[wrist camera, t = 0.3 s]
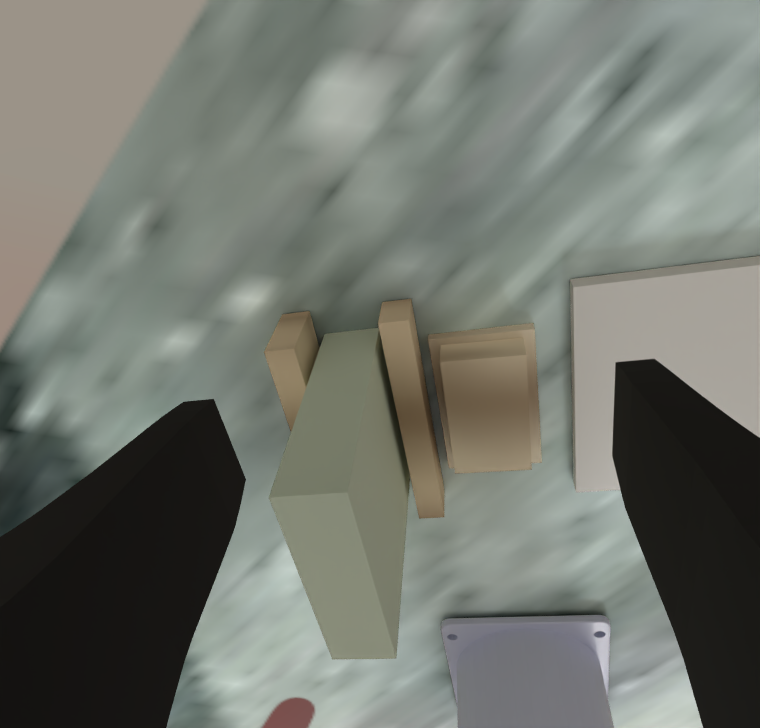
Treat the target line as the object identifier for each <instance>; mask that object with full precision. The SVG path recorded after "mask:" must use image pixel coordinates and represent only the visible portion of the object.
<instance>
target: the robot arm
mask: <svg viewBox="0 0 760 728" xmlns="http://www.w3.org/2000/svg"><path fill="white" fill-rule="evenodd" d="M612 457H613V461H614V465H615V469H616V474H617V478H618V482H619V486H620V490H621V493H622V497H623V501H624V505H625V508H626V511H627V513H628V516H629V519H630V521H631V524H632V526H633V529H634V532H635V534H636V537H637V539H638V542H639V544H640V547H641V549H642V552H643V554H644V557H645V559H646V562H647V565H648V567H649V570H650V572H651V575H652V577H653V580H654V582H655V585H656V587H657V590H658V592H659V595H660V597H661V600H662V602H663V605H664V607H665V610H666V612H667V615H668V617H669V620H670V622H671V625H672V627H673V630H674V633H675V636H676V639H677V641H678V644H679V647H680V650H681V653H682V656H683V659H684V662H685V666H686V669H687V672H688V676H689V679H690V683H691V686H692V690H693V693H694V697H695V700H696V704H697V707H698V711H699V714H700V718H701V721H702V725H703V728H760V438H759V437H758V436H756V435H755V434H753V433H752V432H751V431H749V430H748V429H746V428H745V427H744V426H742V425H741V424H739V423H738V422H737V421H735V420H734V419H732V418H731V417H730V416H728V415H727V414H726V413H724V412H723V411H722V410H720V409H719V408H718V407H716V406H715V405H714V404H712V403H711V402H710V401H708V400H707V399H706V398H704V397H703V396H702V395H700V394H699V393H698V392H697V391H695V390H694V389H693V388H691V387H690V386H689V385H688V384H686V383H685V382H684V381H683V380H681V379H680V378H679V377H677V376H676V375H675V374H674V373H672V372H671V371H670V370H669V369H667V368H666V367H665V366H663V365H662V364H661V363H660V362H658V361H657V360H656V359H645V360H634V361H623V362H615V389H614V417H613V444H612ZM245 481H246V479H245V476H244V474H243V471H242V469H241V466H240V464H239V461H238V459H237V456H236V454H235V451H234V449H233V446H232V444H231V441H230V439H229V436H228V434H227V431H226V429H225V426H224V424H223V421H222V419H221V416H220V414H219V411H218V409H217V406H216V404H215V401H214V399H209V400H198V401H187V402H183V403H181V404H180V405H178V406H177V407H175V408H174V409H172V410H171V411H170V412H168V413H167V414H165V415H164V416H163V417H161V418H160V419H159V420H158V421H156V422H155V423H154V424H152V425H151V426H150V427H149V428H147V429H146V430H145V431H143V432H142V433H141V434H140V435H138V436H137V437H136V438H135V439H133V440H132V441H131V442H130V443H128V444H127V445H126V446H125V447H123V448H122V449H121V450H119V451H118V452H117V453H116V454H114V455H113V456H112V457H111V458H109V459H108V460H107V461H106V462H104V463H103V464H102V465H101V466H99V467H98V468H97V469H95V470H94V471H93V472H92V473H90V474H89V475H88V476H86V477H85V478H84V479H82V480H81V481H79V482H78V483H77V484H75V485H74V486H73V487H71V488H70V489H69V490H67V491H66V492H65V493H63V494H62V495H61V496H59V497H58V498H57V499H55V500H54V501H52V502H51V503H50V504H48V505H47V506H46V507H44V508H43V509H42V510H40V511H39V512H37V513H36V514H34V515H33V516H32V517H30V518H29V519H27V520H26V521H24V522H23V523H21V524H20V525H18V526H17V527H15V528H14V529H12V530H11V531H9V532H8V533H6V534H5V535H3V536H1V537H0V728H166V727H167V723H168V718H169V715H170V711H171V708H172V704H173V700H174V697H175V693H176V689H177V686H178V682H179V679H180V675H181V671H182V668H183V664H184V661H185V658H186V655H187V652H188V649H189V646H190V643H191V641H192V638H193V635H194V632H195V630H196V627H197V625H198V622H199V620H200V617H201V614H202V612H203V609H204V607H205V604H206V602H207V599H208V596H209V594H210V591H211V589H212V586H213V584H214V581H215V579H216V576H217V573H218V571H219V568H220V566H221V563H222V560H223V558H224V555H225V552H226V550H227V547H228V545H229V542H230V539H231V536H232V534H233V531H234V528H235V525H236V521H237V517H238V513H239V509H240V504H241V500H242V495H243V490H244V485H245ZM610 632H611V626H610V622H609V619H608V618H607V617H606V616H603V615H568V616H528V617H487V618H449V619H445V620H443V621H442V623H441V633H442V638H443V642H444V647H445V651H446V656H447V661H448V665H449V670H450V675H451V679H452V684H453V688H454V693H455V698H456V702H457V708H458V728H614V725H613V721H612V716H611V711H610V707H609V702H608V688H609V660H610Z"/></svg>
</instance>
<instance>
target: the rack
mask: <svg viewBox="0 0 760 728" xmlns="http://www.w3.org/2000/svg"><path fill="white" fill-rule="evenodd" d="M378 326H379V331H380V336H381V341H382V345H383V350H384V355H385V359H386V364H387V369H388V373H389V378H390V383H391V388H392V392H393V397H394V402H395V406H396V411H397V416H398V420H399V425H400V430H401V435H402V439H403V444H404V449H405V453H406V458H407V463H408V467H409V472H410V477H411V482H412V486H413V491H414V496H415V500H416V505H417V510H418V515H419V518H437V517H444V484H443V478H442V473H441V467H440V461H439V456H438V450H437V444H436V438H435V433H434V427H433V421H432V415H431V410H430V404H429V398H428V392H427V387H426V381H425V375H424V369H423V364H422V358H421V352H420V347H419V341H418V335H417V329H416V324H415V318H414V312H413V306H412V301H411V299H404V300H396V301H388V302H382V306H381V311H380V316H379V321H378ZM319 349H320V347H319V344H318V340H317V336H316V333H315V329H314V326H313V322H312V318H311V315H310V311H306V312H298V313H290V314H282V316H281V318H280V320H279V322H278V324H277V326H276V328H275V330H274V333H273V335H272V337H271V339H270V341H269V343H268V345H267V347H266V349H265V351H264V353H265V356H266V359H267V362H268V365H269V368H270V371H271V374H272V377H273V380H274V383H275V386H276V389H277V392H278V395H279V398H280V401H281V404H282V407H283V410H284V412H285V415H286V418H287V421H288V424H289V427H290V430H291V431H292V428H293V425H294V422H295V419H296V416H297V413H298V410H299V408H300V405H301V402H302V399H303V396H304V393H305V390H306V387H307V384H308V381H309V378H310V375H311V372H312V369H313V366H314V363H315V361H316V358H317V355H318V352H319Z"/></svg>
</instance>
